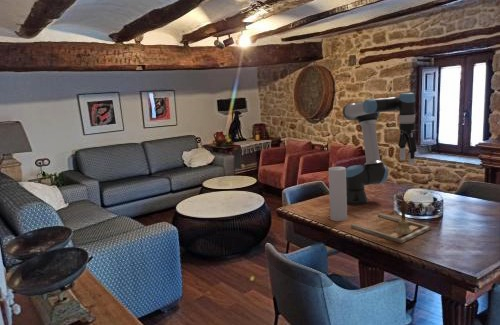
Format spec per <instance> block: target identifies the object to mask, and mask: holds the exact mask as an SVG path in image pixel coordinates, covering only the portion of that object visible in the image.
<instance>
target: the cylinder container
mask: <svg viewBox="0 0 500 325" xmlns="http://www.w3.org/2000/svg"><path fill="white" fill-rule="evenodd" d="M346 169H347V168H346V167H344V166H331V167H328V188H329V189H328V190H329V192H328V193H329V194H328V195H329V213H330V214H329V216H330V220H331V221H334V222H344V221H347V219H348V204H347V196H346Z"/></svg>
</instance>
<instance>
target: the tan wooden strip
mask: <svg viewBox="0 0 500 325" xmlns="http://www.w3.org/2000/svg"><path fill="white" fill-rule="evenodd" d="M409 227H410V229H411V230H412V231H413V232H414V231H416V230H417V229H419V227H418V226H414V225H409ZM390 235H391V236H394V237H397V238H401V237H402V236H404V235H405V234H398V233H396V232H395V231H394V232H393V233H391V234H390Z"/></svg>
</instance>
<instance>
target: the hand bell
mask: <svg viewBox="0 0 500 325" xmlns="http://www.w3.org/2000/svg"><path fill="white" fill-rule="evenodd" d="M400 212H401V218H400V219H401V220H400V221H399V222H398V223H397V224H398V225H397V227H396V228H395V229H394V233H395V232H396V233H398V234H404V235H409V234H411V233H413V232H414V230H413V231H412V230H411V229H410V227H409V226H410V225H409V224H408V221H409V220H408V219H406V212H407V204H406V201H405V200H401V203H400ZM407 220H408V221H407Z"/></svg>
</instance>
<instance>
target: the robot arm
mask: <svg viewBox="0 0 500 325" xmlns="http://www.w3.org/2000/svg"><path fill="white" fill-rule="evenodd" d="M384 112H388V113H389V112H398V113H399V114H398V122H399V128H398V129H399V133H400V134H399V140H398V145H397V146H398V147H399V160H400V161H405V160H406V148H407V147H408V165H409V166H413V165H416V164H415V162H416V161H415V160H416V159H415V154H416V152H417V145H416V139H415V133H414V132H412V131H414V130H415V129H416V126H415V125H416V123H415V121H416V117H417V116H416V115H415V114H416V96H415V93H414V92H405V93H404V92H403V93H399V96H391V97H382V98H369V99H365V100H364V101H359V102H351V103H348V104H345V106H344V107H343V108H342V113H341V114H342V116H343V117H344V119H346V120H348V121H353V122H354V121H357V122H358V125H360V126H361V131H362V140H363V147H364V154H365V163H364V164H363V165H361V164H358V165H357V164H355V165H351V166H348V167H347V168H346V196H347V205H352V206H362V205H365V204H368V200H369V199H368V197H367V193H366V189H365V186H370V185H380V184H384V183H385V182H386V181H387V179H388V177H389V169H388V167H387V165H385V164H384V161H382V160H381V157H380V150H379V149H380V148H379V142H378V137H377V126H376V123H377V121H378V119H379V117H380V114H381V113H384ZM406 145H407V147H406Z"/></svg>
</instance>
